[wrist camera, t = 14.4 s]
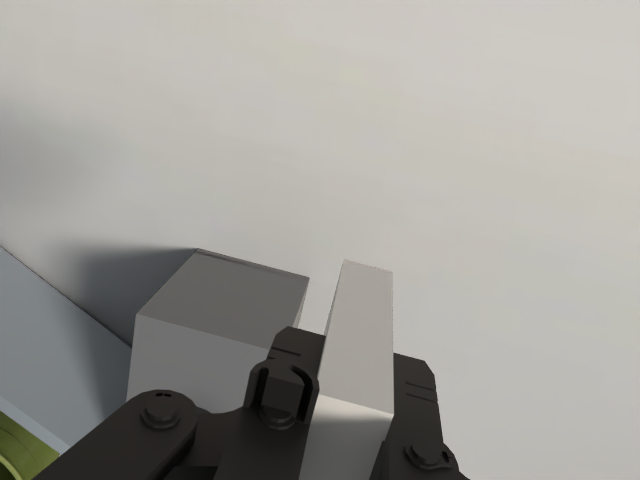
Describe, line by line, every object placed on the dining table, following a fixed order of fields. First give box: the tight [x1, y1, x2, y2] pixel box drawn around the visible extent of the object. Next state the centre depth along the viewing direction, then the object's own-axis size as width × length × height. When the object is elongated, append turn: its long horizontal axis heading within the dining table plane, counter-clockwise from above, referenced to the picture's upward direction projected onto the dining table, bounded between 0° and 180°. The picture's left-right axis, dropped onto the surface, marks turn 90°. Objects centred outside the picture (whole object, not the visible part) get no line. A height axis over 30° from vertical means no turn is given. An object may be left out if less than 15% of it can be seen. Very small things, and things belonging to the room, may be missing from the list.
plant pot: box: [0, 411, 60, 480], centre depth 49 cm, size 12×12×11 cm
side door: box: [0, 247, 132, 455], centre depth 43 cm, size 2×22×12 cm, turn 49°
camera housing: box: [126, 249, 310, 413], centre depth 42 cm, size 10×14×14 cm
